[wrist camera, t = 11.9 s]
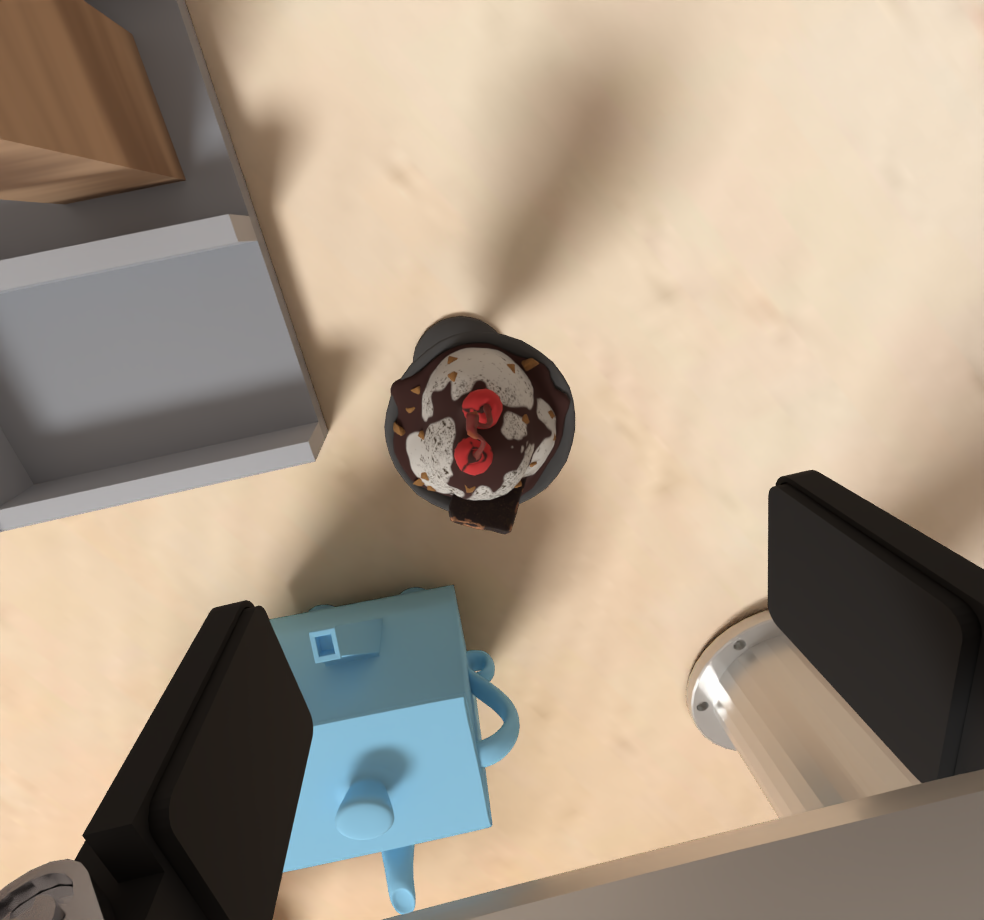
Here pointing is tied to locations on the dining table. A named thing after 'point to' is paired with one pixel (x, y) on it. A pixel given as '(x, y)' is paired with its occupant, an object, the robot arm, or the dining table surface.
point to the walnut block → (76, 107)
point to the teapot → (391, 731)
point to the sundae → (479, 422)
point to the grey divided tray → (147, 320)
